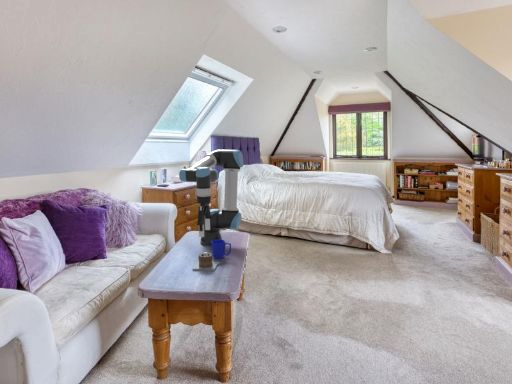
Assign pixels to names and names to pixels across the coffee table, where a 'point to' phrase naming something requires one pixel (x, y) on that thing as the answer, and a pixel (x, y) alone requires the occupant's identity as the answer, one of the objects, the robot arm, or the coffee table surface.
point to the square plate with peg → (198, 268)
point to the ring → (205, 260)
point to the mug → (219, 248)
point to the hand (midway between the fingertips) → (204, 233)
